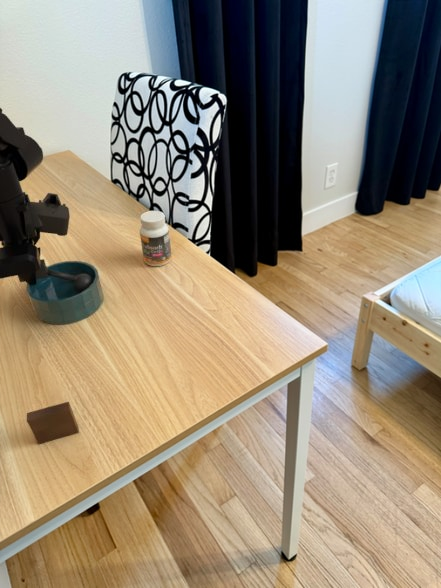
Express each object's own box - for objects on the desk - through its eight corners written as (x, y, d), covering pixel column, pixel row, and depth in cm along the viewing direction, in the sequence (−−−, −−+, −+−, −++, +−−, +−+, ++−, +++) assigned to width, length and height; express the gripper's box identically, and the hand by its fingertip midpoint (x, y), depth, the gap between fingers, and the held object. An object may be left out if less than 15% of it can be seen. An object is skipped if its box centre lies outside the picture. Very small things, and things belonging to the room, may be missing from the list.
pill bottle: (140, 266, 86) (133, 222, 80) (148, 251, 90) (141, 208, 84) (168, 268, 85) (163, 223, 79) (174, 252, 90) (170, 209, 83)
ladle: (94, 284, 79) (86, 249, 74) (96, 295, 76) (88, 260, 72) (28, 296, 76) (16, 261, 72) (28, 308, 73) (15, 272, 69)
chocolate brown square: (38, 444, 55) (26, 420, 51) (38, 436, 55) (26, 412, 52) (78, 432, 56) (69, 408, 53) (78, 425, 57) (68, 401, 54)
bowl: (34, 331, 71) (25, 308, 68) (35, 290, 80) (27, 268, 77) (107, 315, 74) (101, 292, 71) (99, 277, 83) (94, 255, 80)
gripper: (61, 212, 58) (87, 302, 68) (56, 164, 72) (78, 244, 82) (-28, 228, 55) (11, 319, 65) (-15, 175, 69) (16, 256, 79)
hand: (33, 280), depth 73 cm, fingers closed on ladle, 2 cm apart
